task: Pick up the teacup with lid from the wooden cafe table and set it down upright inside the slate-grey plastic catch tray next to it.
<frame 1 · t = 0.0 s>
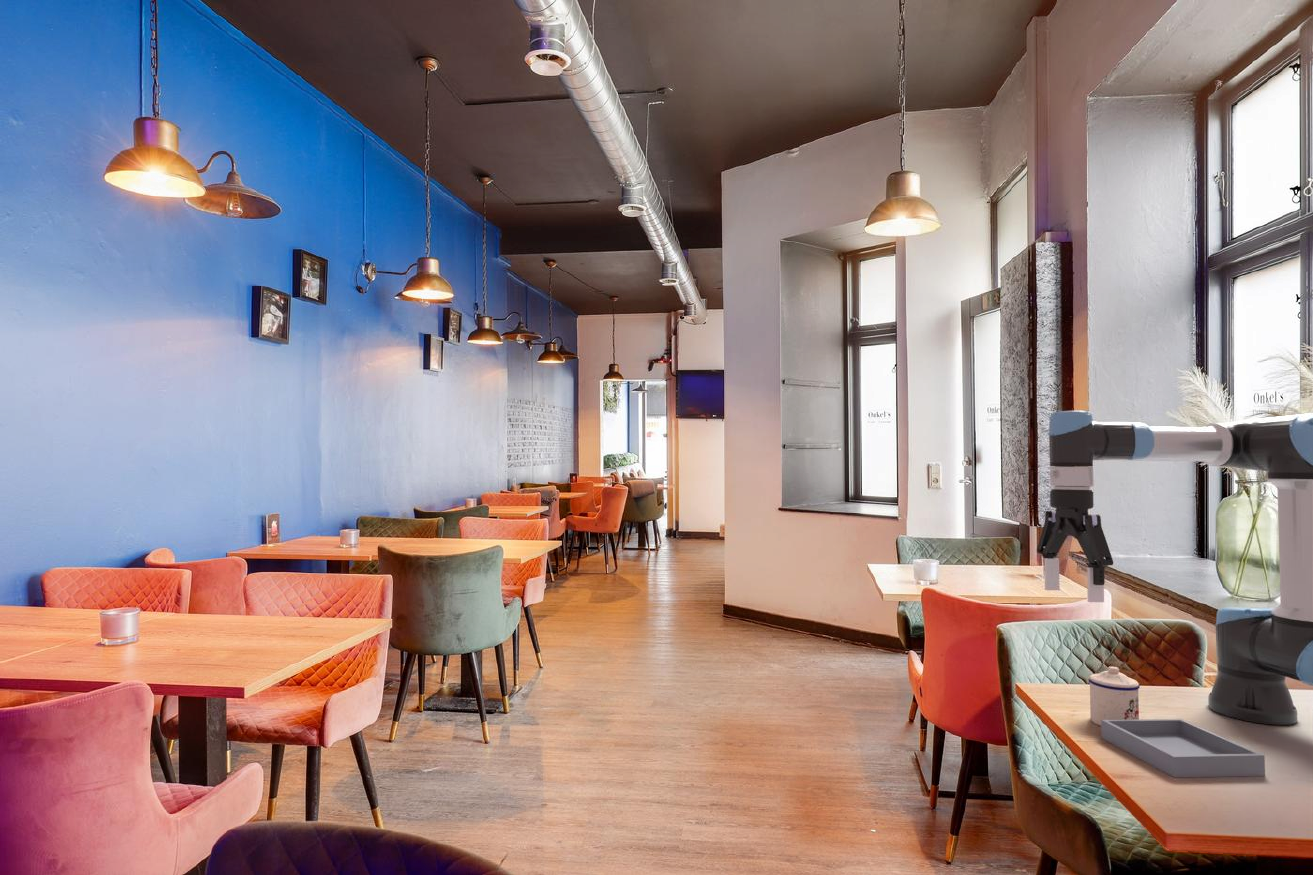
hand: (1072, 595, 144), 28 cm above the table, tool pointing down, fingers open, 13 cm apart
catch tray: (1178, 755, 135), on the table
teacup with lid: (1116, 723, 153), on the table
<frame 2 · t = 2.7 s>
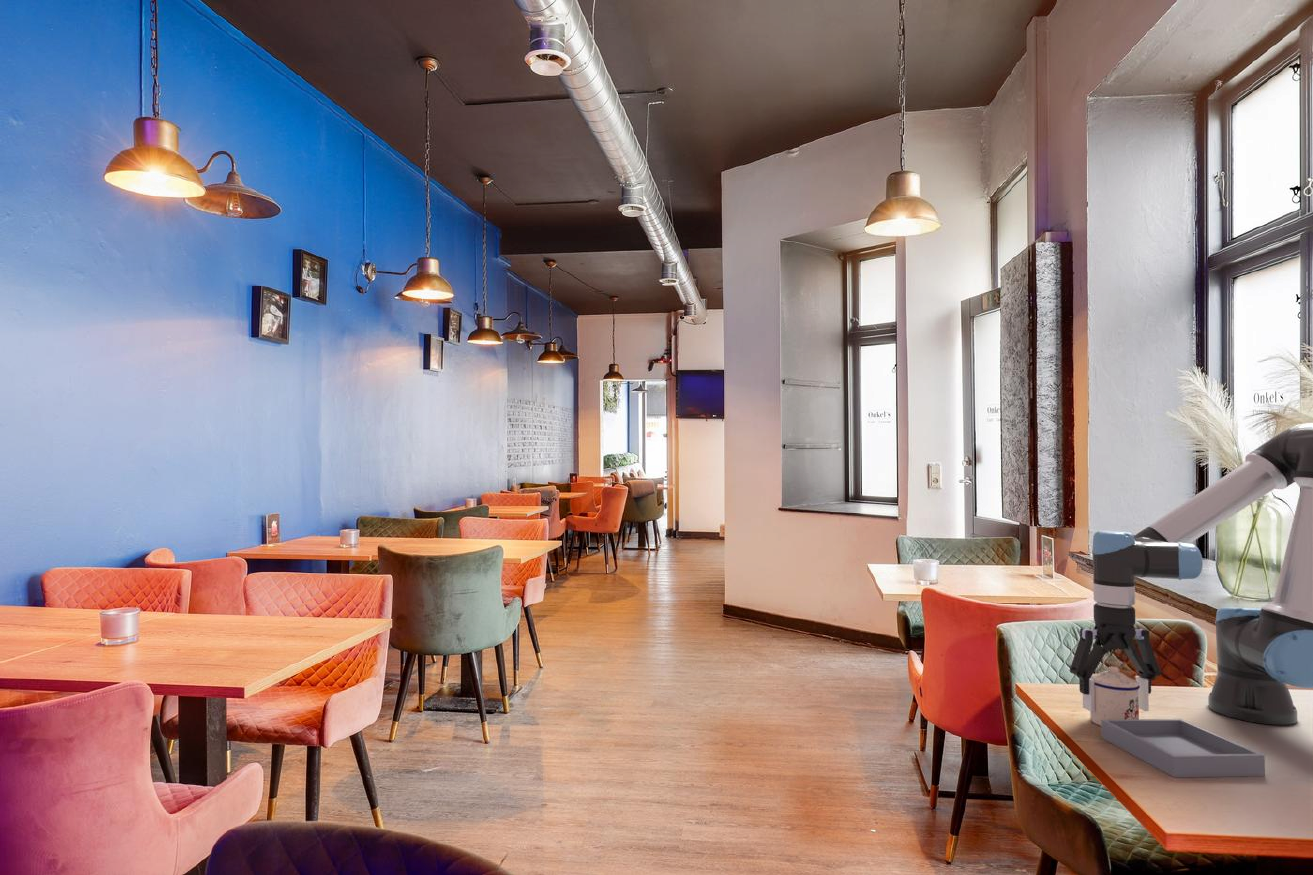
hand: (1115, 709, 154), 3 cm above the table, tool pointing down, fingers open, 11 cm apart
teacup with lid: (1116, 723, 153), on the table, touching gripper
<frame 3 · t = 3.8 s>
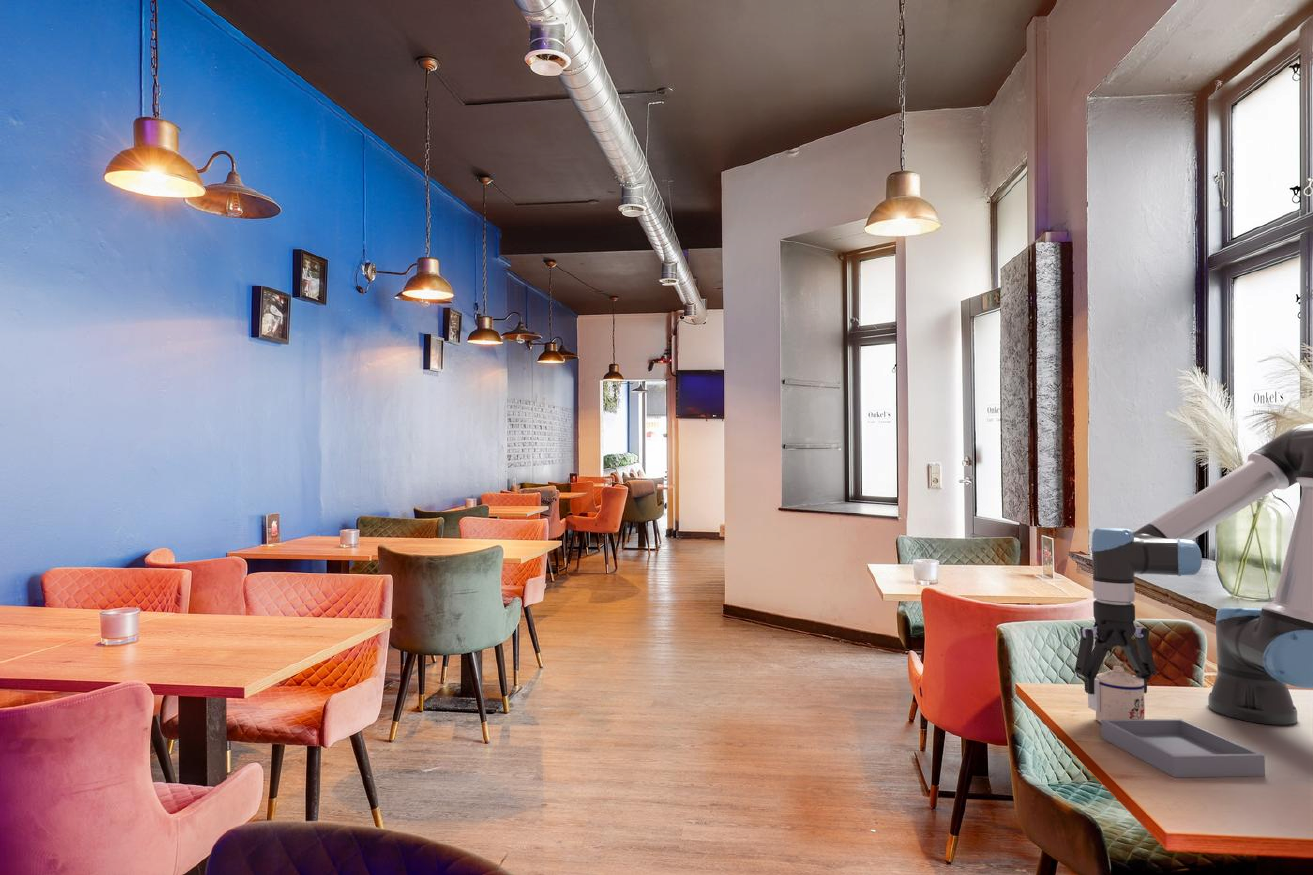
hand: (1116, 708, 154), 3 cm above the table, tool pointing down, fingers closed on teacup with lid, 9 cm apart
teacup with lid: (1121, 722, 153), on the table, touching gripper
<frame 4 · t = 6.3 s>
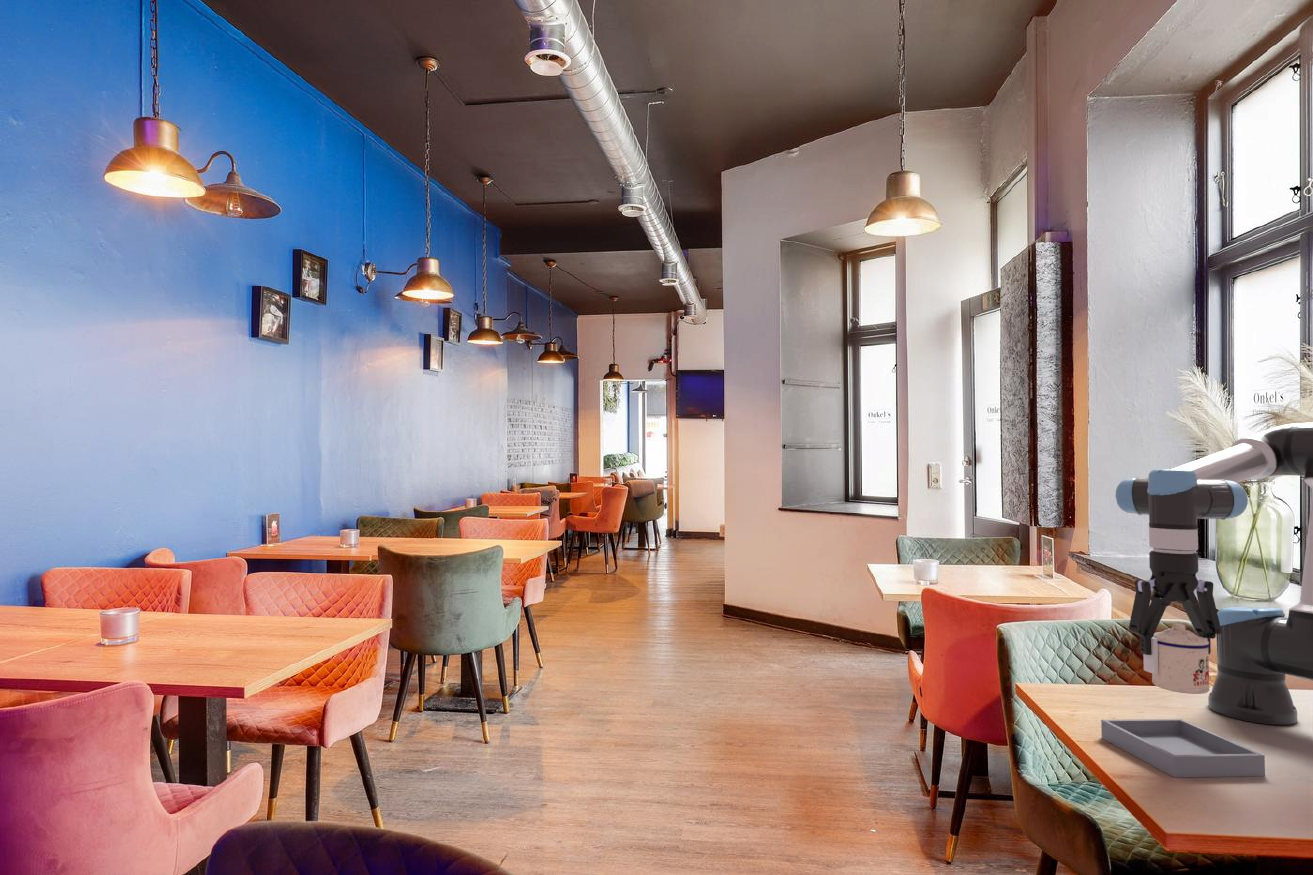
hand: (1175, 671, 136), 15 cm above the table, tool pointing down, fingers closed on teacup with lid, 9 cm apart
teacup with lid: (1181, 686, 136), point 13 cm above the table, touching gripper
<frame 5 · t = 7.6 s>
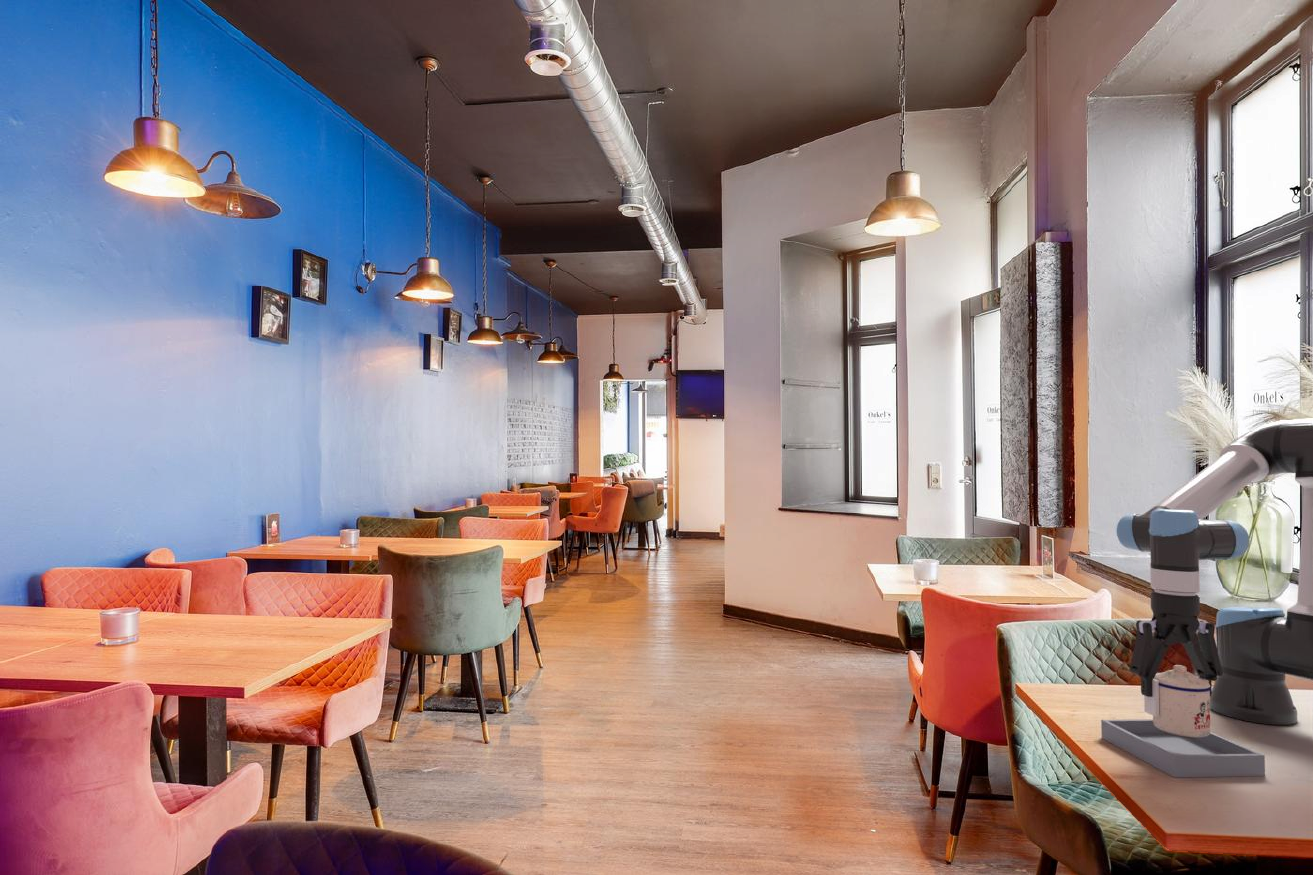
hand: (1176, 713, 136), 8 cm above the table, tool pointing down, fingers closed on teacup with lid, 9 cm apart
teacup with lid: (1182, 728, 136), point 5 cm above the table, touching gripper
when the fingers open (4 cm above the table, at t = 8.7 s): teacup with lid drops 1 cm, resting on catch tray.
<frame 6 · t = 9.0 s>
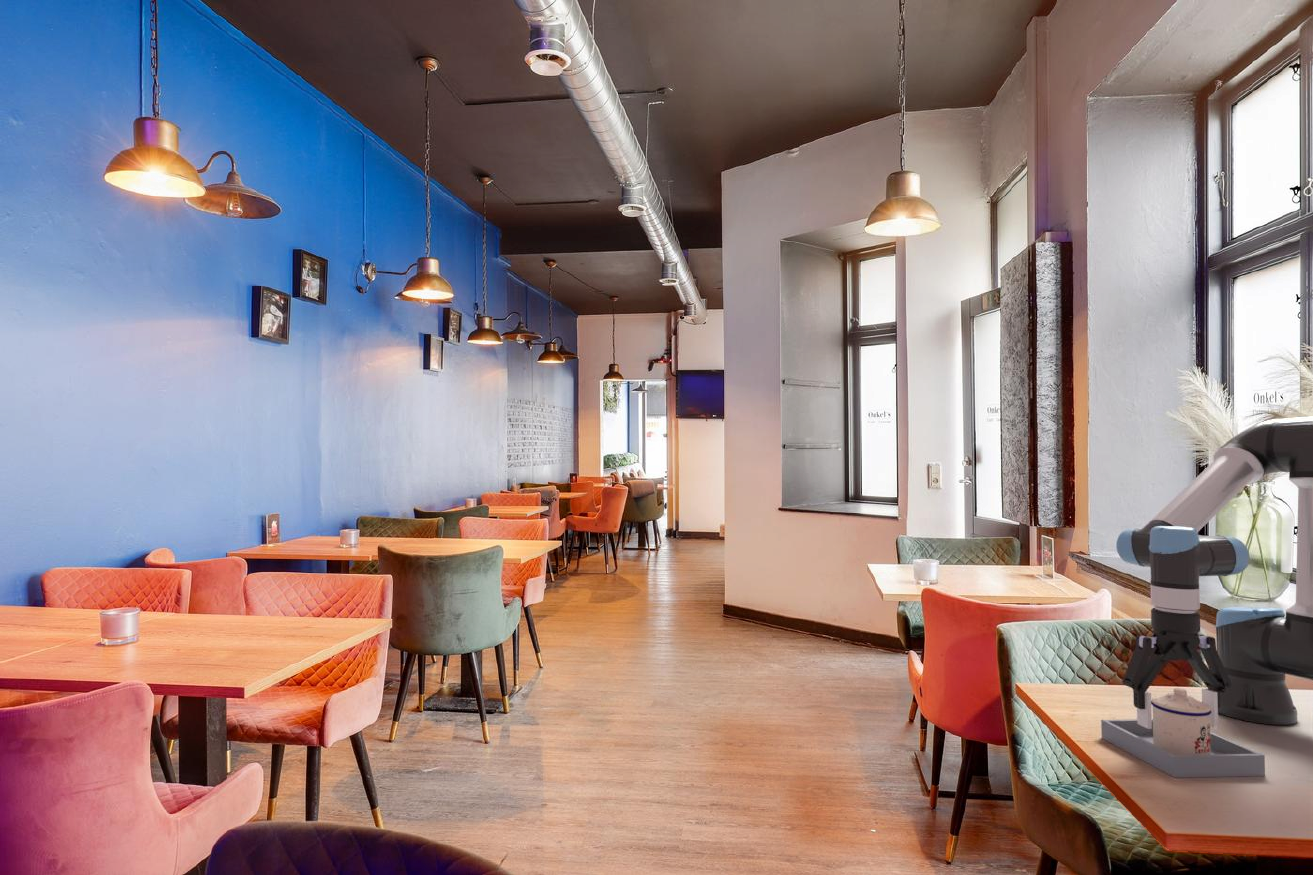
hand: (1177, 725, 136), 5 cm above the table, tool pointing down, fingers open, 12 cm apart
teacup with lid: (1183, 752, 136), point 1 cm above the table, touching catch tray
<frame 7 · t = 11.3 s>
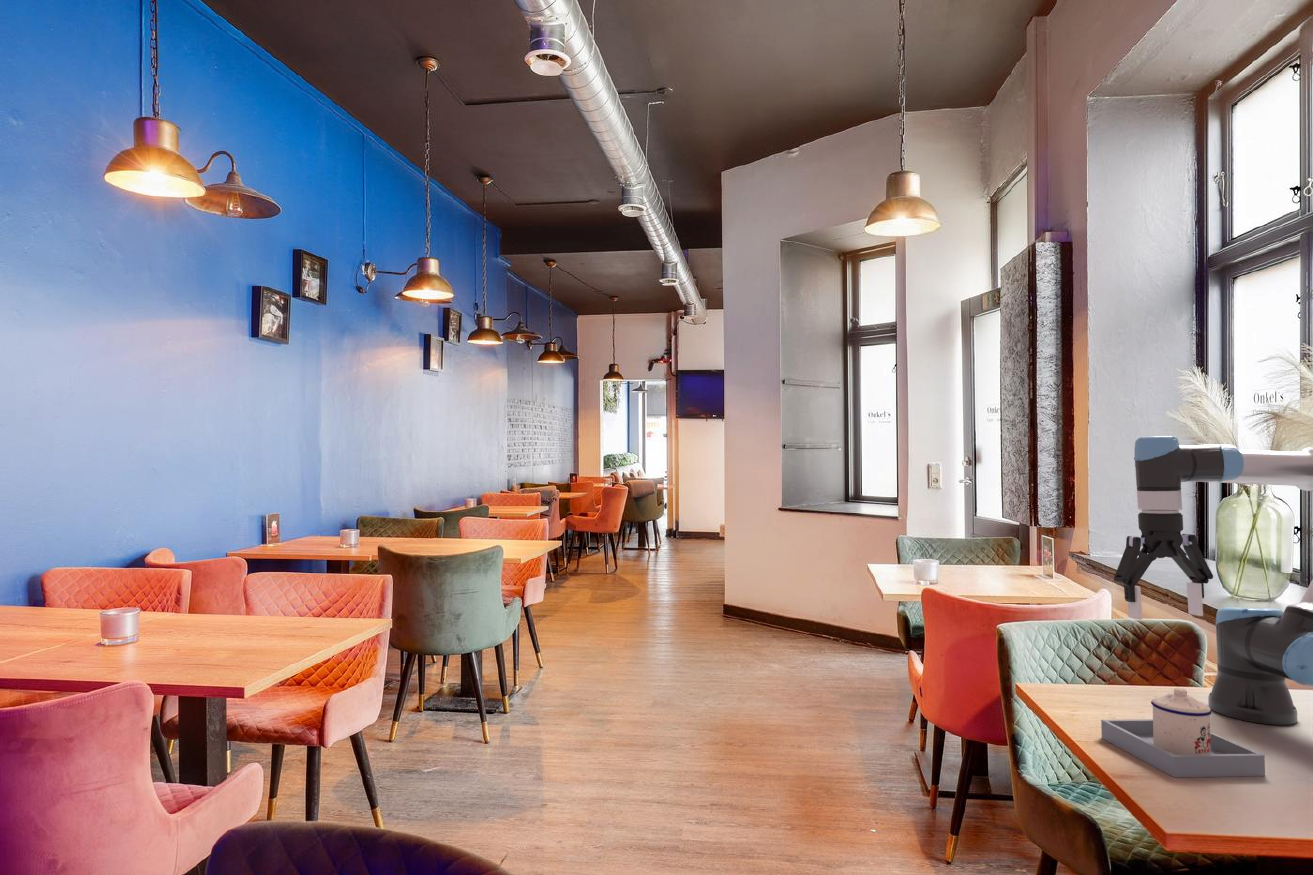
hand: (1165, 616, 148), 23 cm above the table, tool pointing down, fingers open, 13 cm apart
nothing on the table moved.
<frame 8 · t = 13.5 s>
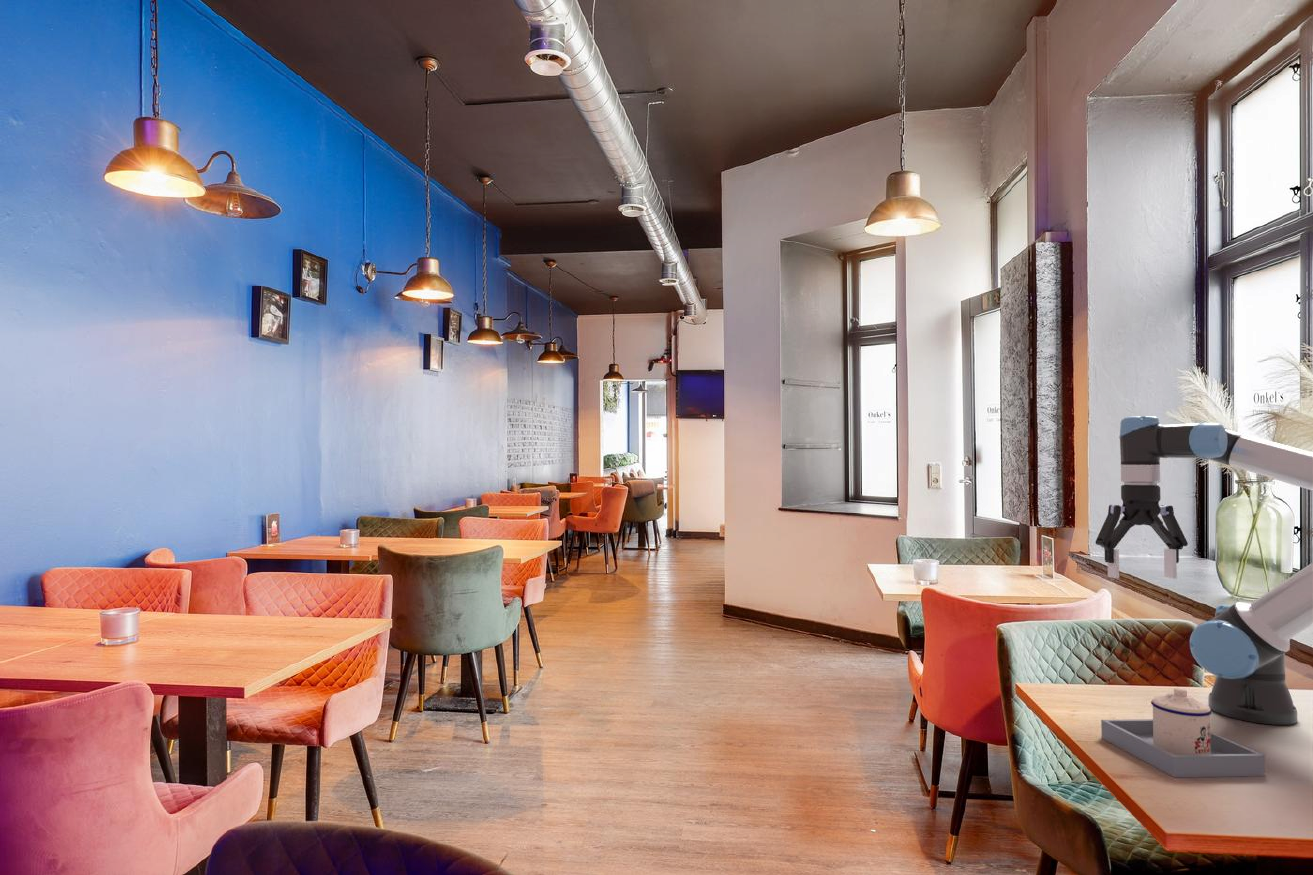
hand: (1142, 577, 166), 29 cm above the table, tool pointing down, fingers open, 13 cm apart
nothing on the table moved.
at the end: teacup with lid inside the target area on the catch tray (1.0 cm from its centre), point 0.6 cm above the catch tray's base; teacup with lid tilted 0°; the gripper is holding nothing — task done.
